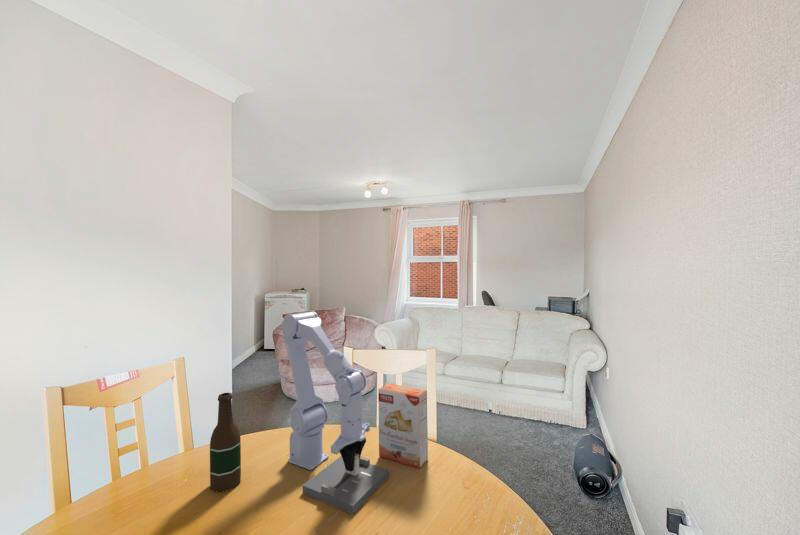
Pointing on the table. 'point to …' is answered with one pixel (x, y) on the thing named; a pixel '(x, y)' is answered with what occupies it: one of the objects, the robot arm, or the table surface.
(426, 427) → the cracker box
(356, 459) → the fader tab
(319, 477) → the console
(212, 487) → the beer bottle
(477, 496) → the table surface
